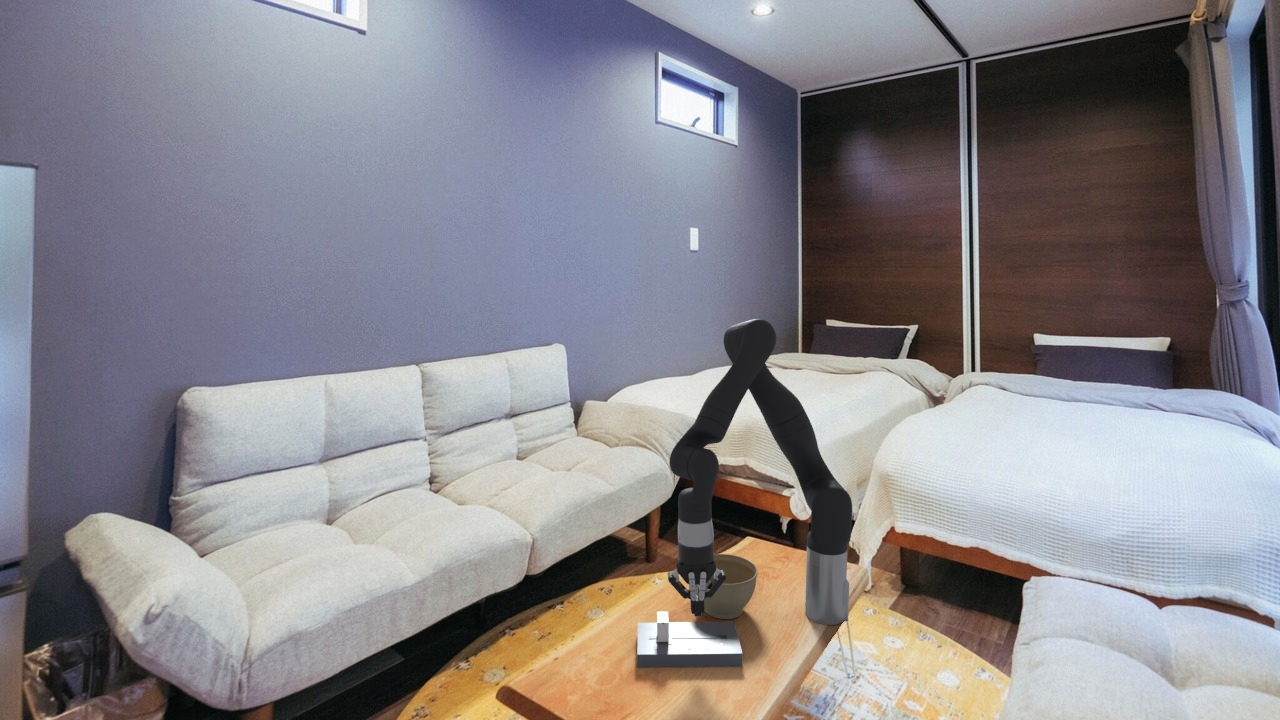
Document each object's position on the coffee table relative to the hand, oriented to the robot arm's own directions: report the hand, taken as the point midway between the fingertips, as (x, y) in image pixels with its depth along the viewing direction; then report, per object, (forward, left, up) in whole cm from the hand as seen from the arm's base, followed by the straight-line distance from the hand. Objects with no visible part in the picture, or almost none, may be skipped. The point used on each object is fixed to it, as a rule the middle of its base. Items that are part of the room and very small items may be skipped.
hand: (697, 614), depth 133 cm
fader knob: (+7, -1, -5) cm, 9 cm away
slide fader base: (+2, -1, -9) cm, 9 cm away
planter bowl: (-8, -17, -9) cm, 21 cm away
